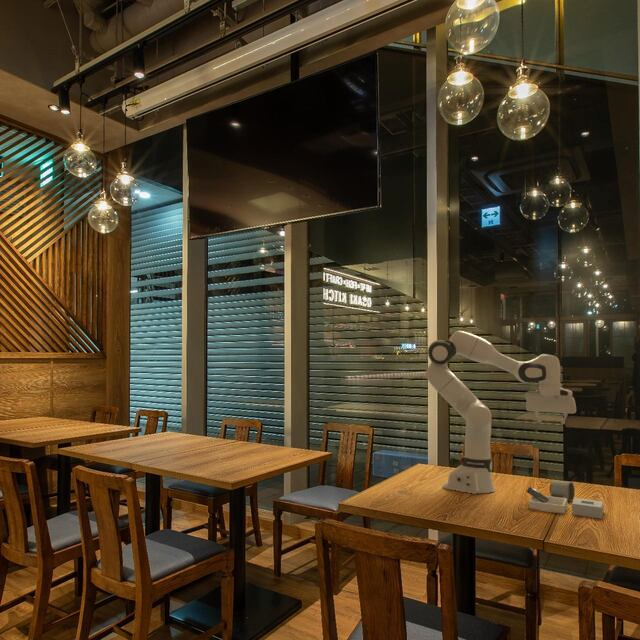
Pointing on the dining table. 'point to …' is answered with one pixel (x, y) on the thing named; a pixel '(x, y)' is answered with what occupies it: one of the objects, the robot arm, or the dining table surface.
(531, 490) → the pin
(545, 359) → the robot arm
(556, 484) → the ceramic mug
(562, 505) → the tray
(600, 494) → the dining table surface
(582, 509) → the grey square socket block
